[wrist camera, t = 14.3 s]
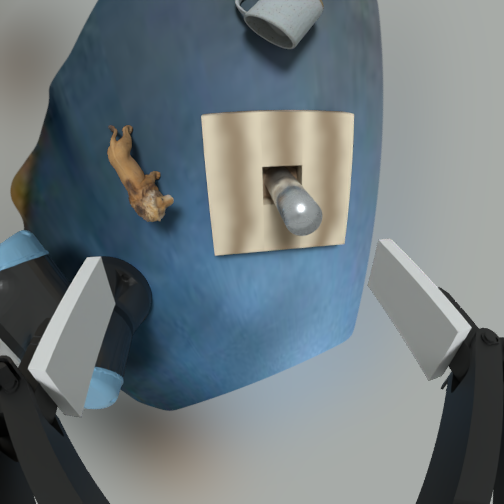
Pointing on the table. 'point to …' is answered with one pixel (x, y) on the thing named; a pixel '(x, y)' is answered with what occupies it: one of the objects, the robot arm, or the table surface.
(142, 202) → the lion figurine
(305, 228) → the metal peg
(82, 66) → the table surface
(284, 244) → the maple block
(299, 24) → the ceramic mug
